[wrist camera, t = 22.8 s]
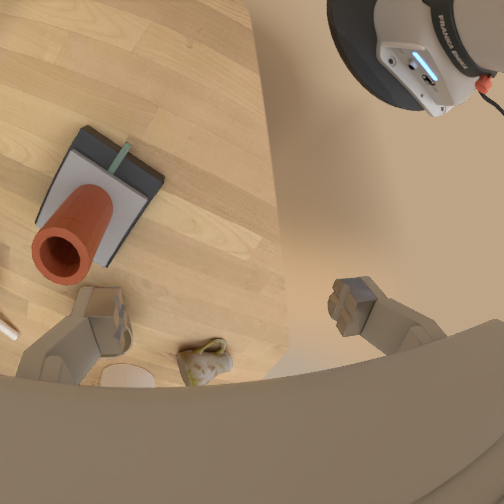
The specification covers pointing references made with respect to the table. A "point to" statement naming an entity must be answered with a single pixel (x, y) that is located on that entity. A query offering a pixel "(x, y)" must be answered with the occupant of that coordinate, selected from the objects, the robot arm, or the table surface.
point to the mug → (203, 364)
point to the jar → (73, 235)
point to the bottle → (126, 377)
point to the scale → (104, 186)
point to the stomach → (8, 330)
